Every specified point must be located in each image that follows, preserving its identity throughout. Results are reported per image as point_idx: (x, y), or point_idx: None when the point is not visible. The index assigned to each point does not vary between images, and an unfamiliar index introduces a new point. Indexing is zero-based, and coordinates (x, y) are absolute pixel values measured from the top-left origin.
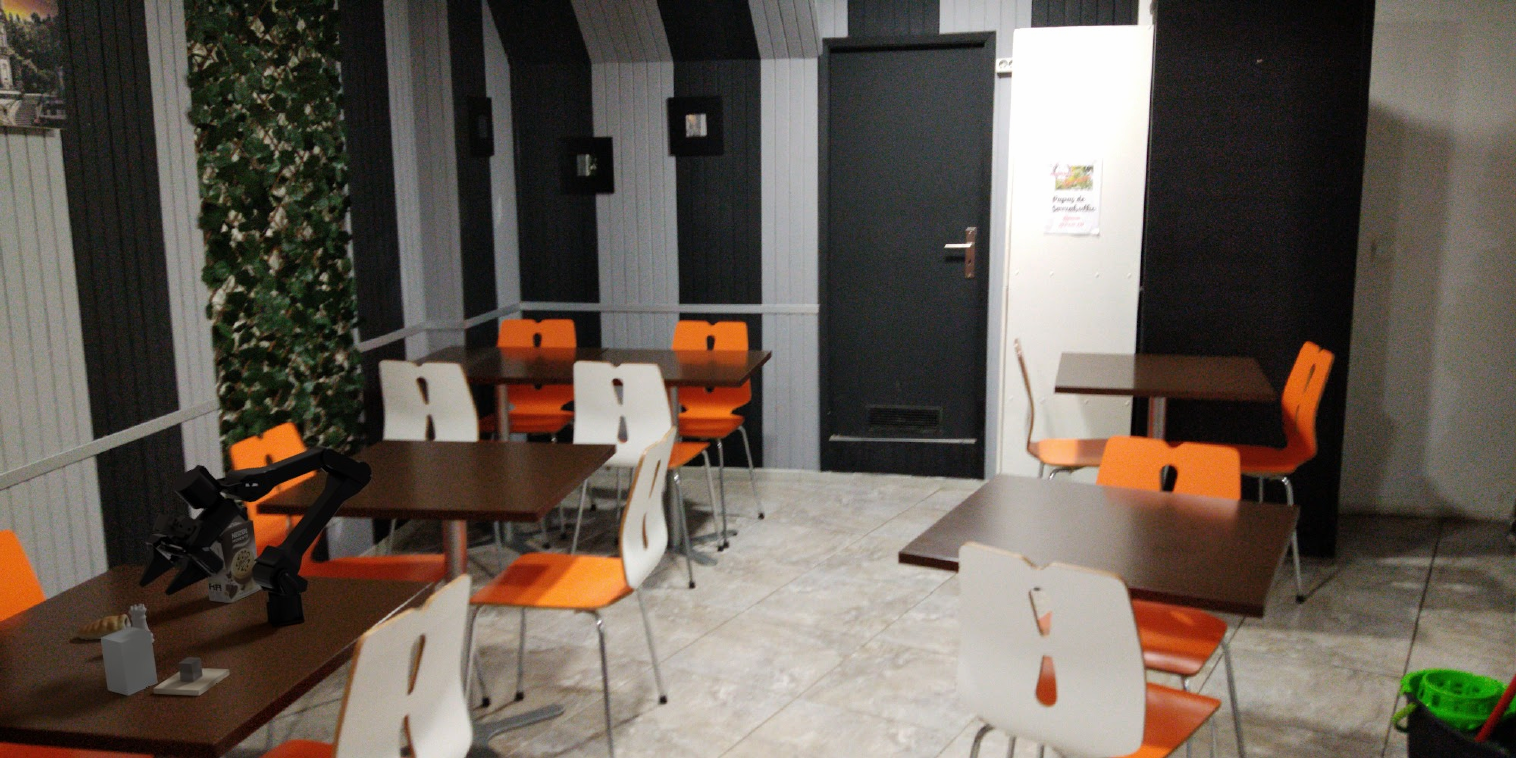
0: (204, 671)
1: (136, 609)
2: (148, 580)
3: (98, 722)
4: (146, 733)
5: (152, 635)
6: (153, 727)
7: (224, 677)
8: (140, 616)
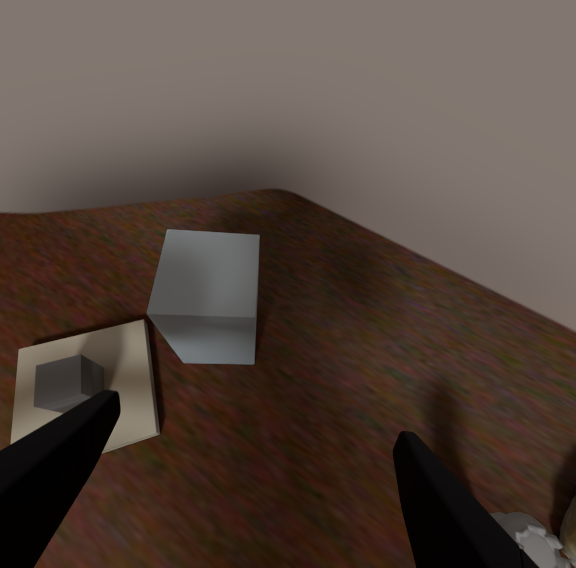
0: None
1: (521, 540)
2: (408, 500)
3: (156, 221)
4: (35, 219)
5: None
6: (37, 235)
7: None
8: None
